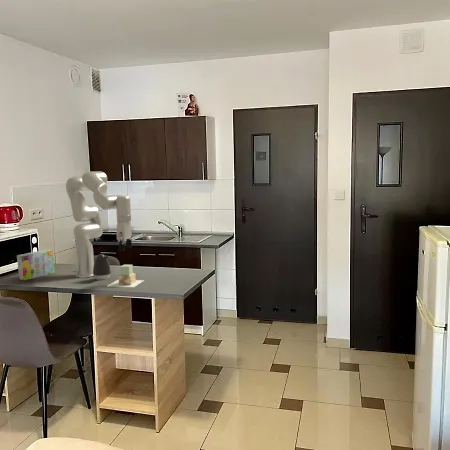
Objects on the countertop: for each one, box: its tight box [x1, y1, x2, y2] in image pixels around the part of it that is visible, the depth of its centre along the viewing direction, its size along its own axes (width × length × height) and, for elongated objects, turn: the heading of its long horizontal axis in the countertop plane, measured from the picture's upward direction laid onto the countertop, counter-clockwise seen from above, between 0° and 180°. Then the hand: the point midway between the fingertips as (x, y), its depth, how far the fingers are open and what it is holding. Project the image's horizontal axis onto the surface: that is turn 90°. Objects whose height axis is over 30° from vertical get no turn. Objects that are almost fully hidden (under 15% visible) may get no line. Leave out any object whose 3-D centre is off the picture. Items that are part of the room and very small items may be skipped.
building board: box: [106, 279, 145, 288], centre depth 255 cm, size 16×15×1 cm
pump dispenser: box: [93, 253, 112, 281], centre depth 268 cm, size 10×10×15 cm
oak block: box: [118, 272, 137, 285], centre depth 254 cm, size 7×7×5 cm
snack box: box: [16, 249, 56, 281], centre depth 281 cm, size 21×6×15 cm, turn 145°
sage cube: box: [120, 264, 134, 276], centre depth 254 cm, size 5×5×5 cm
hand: (125, 249), depth 252 cm, fingers open, 9 cm apart
